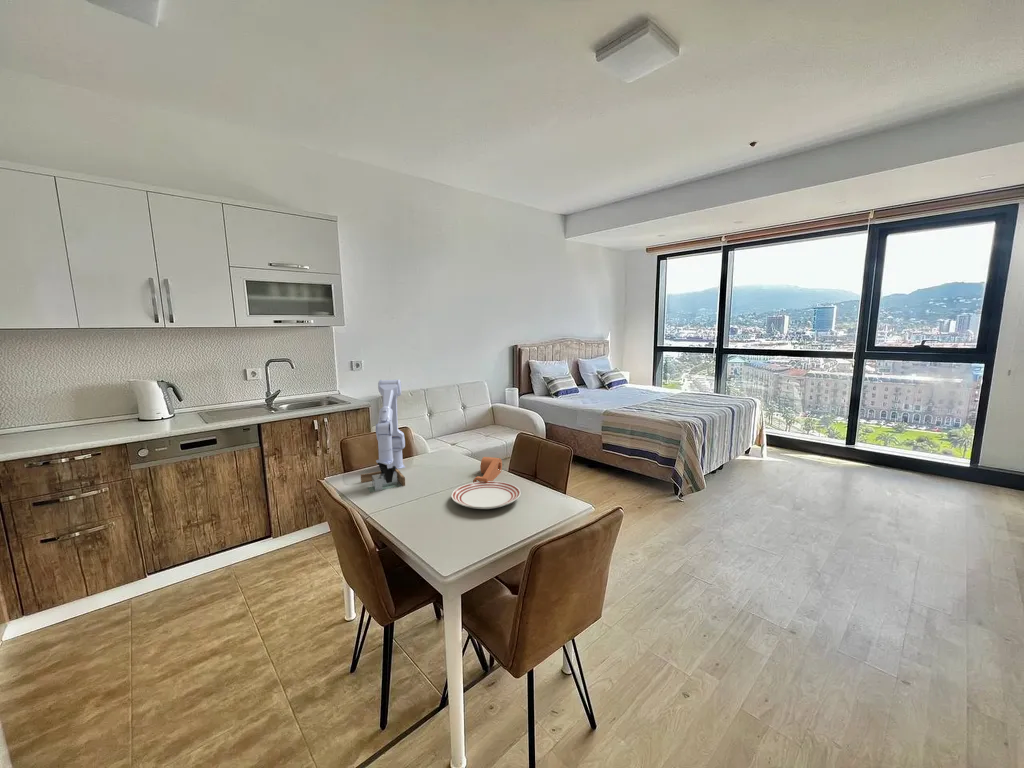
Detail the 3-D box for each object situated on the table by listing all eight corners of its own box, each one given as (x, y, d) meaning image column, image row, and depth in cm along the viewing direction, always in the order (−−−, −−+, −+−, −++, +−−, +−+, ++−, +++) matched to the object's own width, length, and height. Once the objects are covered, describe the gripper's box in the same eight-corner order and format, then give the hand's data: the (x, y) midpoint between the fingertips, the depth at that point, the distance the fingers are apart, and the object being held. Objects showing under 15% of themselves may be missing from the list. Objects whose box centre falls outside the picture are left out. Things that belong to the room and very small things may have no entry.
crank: (486, 470, 191) (486, 454, 190) (502, 472, 189) (502, 456, 188) (470, 485, 172) (469, 468, 171) (487, 487, 170) (486, 469, 169)
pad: (367, 487, 172) (367, 486, 172) (397, 481, 178) (397, 480, 178) (370, 492, 166) (370, 492, 166) (401, 486, 172) (401, 485, 172)
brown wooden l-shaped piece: (361, 483, 176) (360, 474, 176) (397, 476, 184) (396, 468, 184) (366, 494, 164) (366, 484, 164) (405, 486, 172) (404, 477, 172)
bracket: (395, 482, 177) (395, 471, 176) (399, 486, 171) (398, 475, 171) (372, 486, 172) (371, 475, 171) (375, 491, 167) (374, 479, 166)
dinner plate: (449, 490, 168) (449, 482, 168) (512, 484, 174) (512, 476, 173) (453, 519, 141) (453, 510, 141) (528, 511, 147) (528, 502, 146)
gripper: (372, 446, 176) (374, 476, 177) (379, 455, 163) (381, 486, 165) (388, 444, 179) (390, 473, 181) (396, 452, 167) (398, 483, 168)
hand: (387, 479), depth 173 cm, fingers open, 7 cm apart
